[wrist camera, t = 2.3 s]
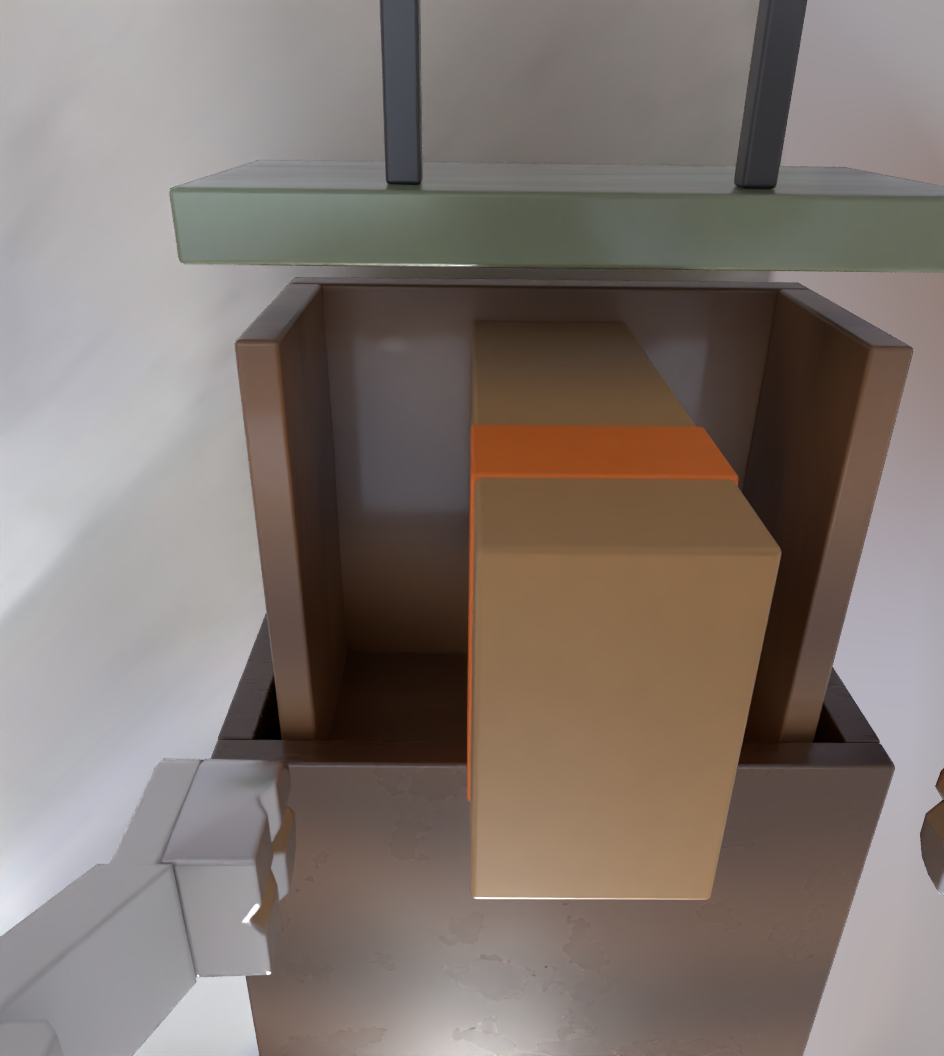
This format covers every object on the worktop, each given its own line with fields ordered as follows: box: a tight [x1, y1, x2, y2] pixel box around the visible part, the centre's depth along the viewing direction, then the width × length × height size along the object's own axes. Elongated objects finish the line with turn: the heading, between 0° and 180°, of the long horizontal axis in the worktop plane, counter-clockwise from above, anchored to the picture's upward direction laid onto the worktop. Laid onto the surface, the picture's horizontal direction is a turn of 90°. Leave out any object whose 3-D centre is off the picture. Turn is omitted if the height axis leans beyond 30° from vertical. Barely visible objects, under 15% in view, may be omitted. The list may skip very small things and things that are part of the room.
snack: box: [467, 321, 781, 900], centre depth 16 cm, size 6×4×11 cm, turn 179°
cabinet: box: [211, 612, 895, 1056], centre depth 25 cm, size 15×15×8 cm
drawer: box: [169, 0, 944, 743], centre depth 18 cm, size 19×13×6 cm
